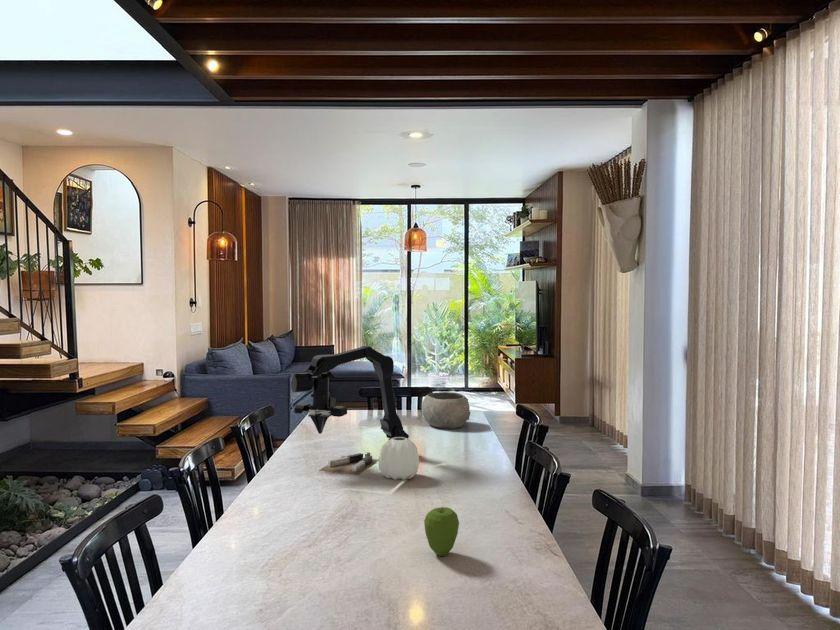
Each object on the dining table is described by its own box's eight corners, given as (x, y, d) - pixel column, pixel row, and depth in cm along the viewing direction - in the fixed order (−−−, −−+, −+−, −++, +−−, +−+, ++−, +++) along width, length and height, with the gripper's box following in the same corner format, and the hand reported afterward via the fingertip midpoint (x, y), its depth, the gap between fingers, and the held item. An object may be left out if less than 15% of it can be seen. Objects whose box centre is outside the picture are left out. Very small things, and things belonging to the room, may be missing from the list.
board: (379, 461, 223) (379, 459, 223) (358, 477, 204) (358, 474, 204) (342, 457, 228) (342, 455, 228) (318, 472, 208) (318, 470, 208)
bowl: (415, 428, 279) (415, 396, 279) (428, 419, 301) (429, 389, 301) (463, 432, 272) (464, 400, 272) (473, 422, 294) (474, 392, 294)
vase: (414, 484, 197) (415, 444, 196) (373, 481, 199) (374, 441, 199) (422, 472, 210) (423, 435, 210) (384, 469, 213) (385, 432, 213)
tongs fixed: (376, 458, 224) (376, 452, 224) (356, 472, 206) (356, 465, 206) (367, 458, 225) (367, 451, 225) (347, 471, 207) (347, 464, 207)
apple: (438, 543, 150) (439, 498, 150) (465, 553, 145) (466, 506, 145) (416, 554, 144) (417, 507, 143) (444, 565, 138) (445, 516, 138)
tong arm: (363, 459, 222) (363, 454, 222) (330, 467, 212) (330, 461, 212) (360, 458, 223) (360, 453, 223) (327, 465, 213) (327, 459, 213)
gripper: (353, 388, 220) (353, 430, 221) (308, 385, 226) (307, 426, 226) (340, 393, 209) (340, 437, 210) (293, 390, 215) (293, 433, 215)
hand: (320, 433), depth 216 cm, fingers closed
